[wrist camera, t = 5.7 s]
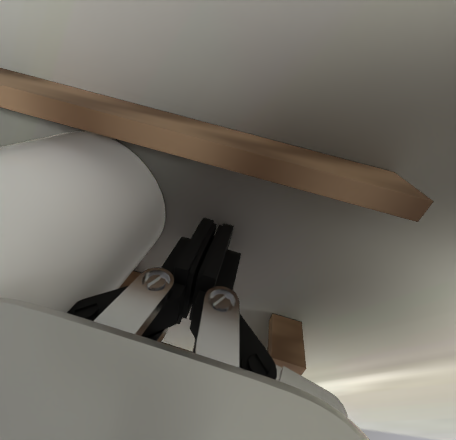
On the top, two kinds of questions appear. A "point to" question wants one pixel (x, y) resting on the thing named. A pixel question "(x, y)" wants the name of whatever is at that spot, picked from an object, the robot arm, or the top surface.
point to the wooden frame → (220, 164)
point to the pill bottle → (73, 217)
